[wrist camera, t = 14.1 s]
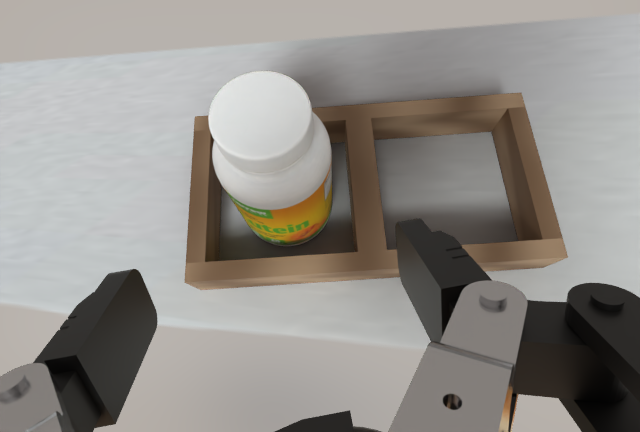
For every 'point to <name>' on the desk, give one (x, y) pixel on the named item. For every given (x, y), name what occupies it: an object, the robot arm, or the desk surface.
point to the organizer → (366, 209)
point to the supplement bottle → (272, 156)
